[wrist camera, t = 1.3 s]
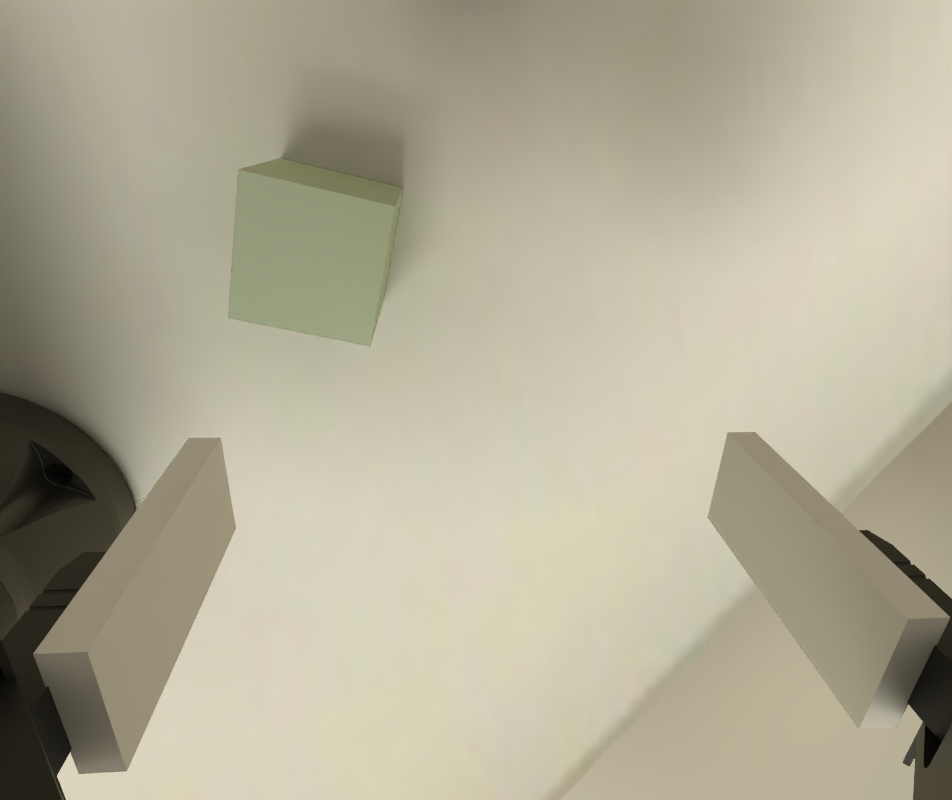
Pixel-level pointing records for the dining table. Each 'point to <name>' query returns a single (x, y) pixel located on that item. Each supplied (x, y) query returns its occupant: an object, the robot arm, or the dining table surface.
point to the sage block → (311, 249)
